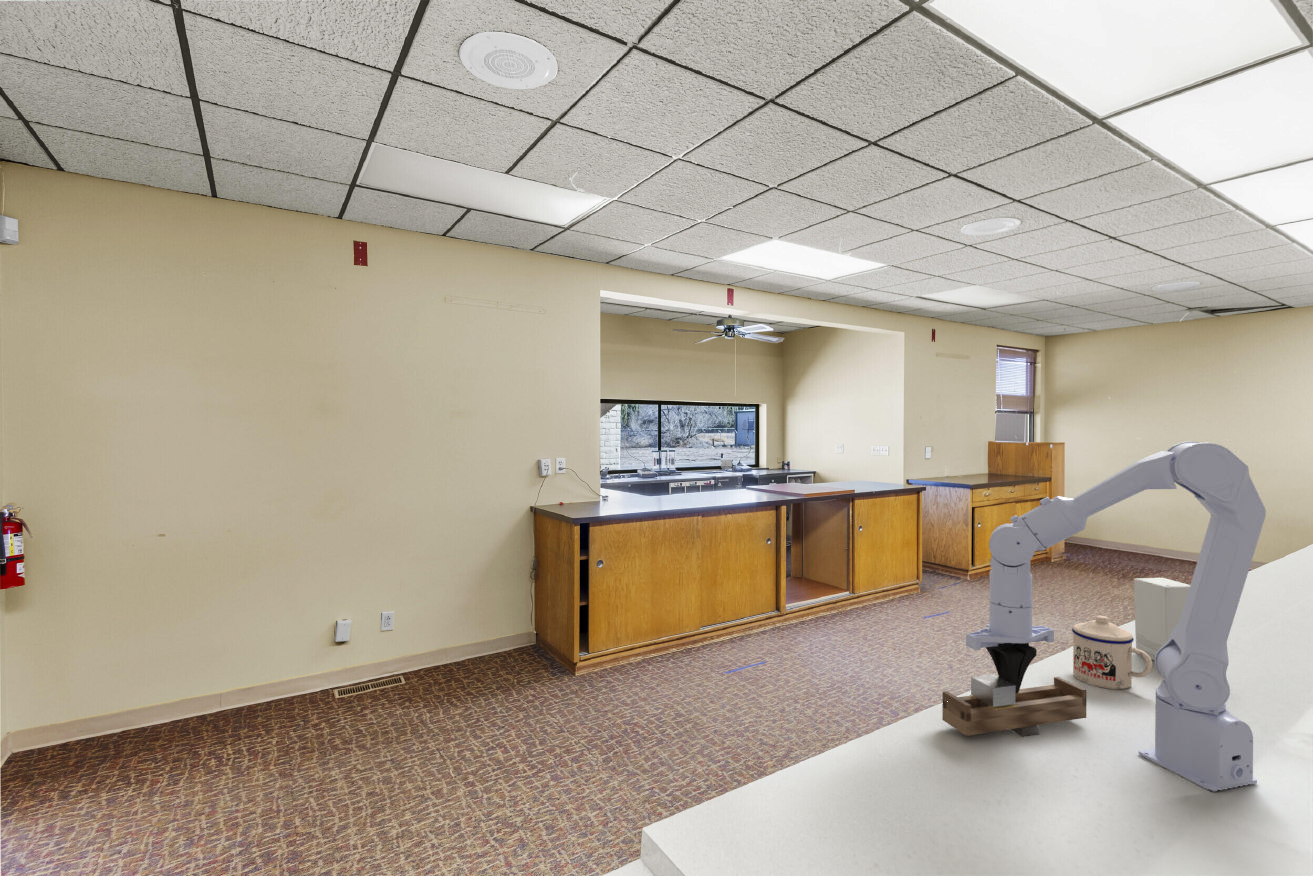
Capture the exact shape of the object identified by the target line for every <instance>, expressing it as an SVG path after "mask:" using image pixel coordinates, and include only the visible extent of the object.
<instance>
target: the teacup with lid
mask: <svg viewBox="0 0 1313 876" xmlns="http://www.w3.org/2000/svg"><path fill="white" fill-rule="evenodd" d="M1071 632H1072V633H1073V643H1072V644H1073V645H1072V646H1073V648H1072V649H1073V653H1072V656H1073V659H1072V663H1073V664H1072V673H1073V676H1074V677H1075V678H1076V679H1078V680H1079V681H1081V682H1083V683H1085V684H1087V685H1091V686H1094V687H1097V686H1098V688H1103V689H1108V690H1124V689H1125V690H1126V689H1128V688H1130V687H1131V686H1132V679H1133V678H1143V677H1145V676H1147V675H1149V674H1150V673H1151V671H1152V668H1153V660H1152V659H1151V658H1150V656H1149V655H1148V654H1147V653H1145V652H1144V651H1142V650H1140V649H1136V647H1133V642H1134V639H1135V638H1134V637H1133V634H1132V633H1131V632H1129V631H1128V630H1126V629H1125V628H1121V627H1119V626H1118V625H1116V624H1114V623H1112V622H1110V618H1109V617H1108V616H1105V615H1096V616H1095V619H1092V620H1089V621H1088V620H1087V621H1086V622H1078V623H1075V624H1074V625H1073V626H1072V628H1071ZM1133 653H1134V654H1136V655H1139V656H1141V657H1142V658H1143V659H1144V661H1145V668H1144V669H1143V671H1142V672H1136V671H1133V667H1132V665H1133V662H1132V660H1133V658H1132V657H1133V656H1132V655H1133Z"/></svg>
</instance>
